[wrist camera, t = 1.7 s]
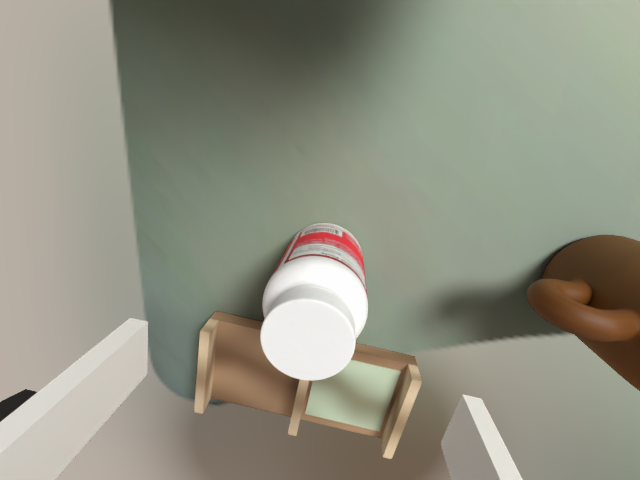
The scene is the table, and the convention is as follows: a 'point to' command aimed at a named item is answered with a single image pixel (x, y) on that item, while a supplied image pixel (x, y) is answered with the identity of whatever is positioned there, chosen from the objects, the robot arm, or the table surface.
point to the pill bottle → (315, 304)
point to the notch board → (306, 383)
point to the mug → (596, 298)
